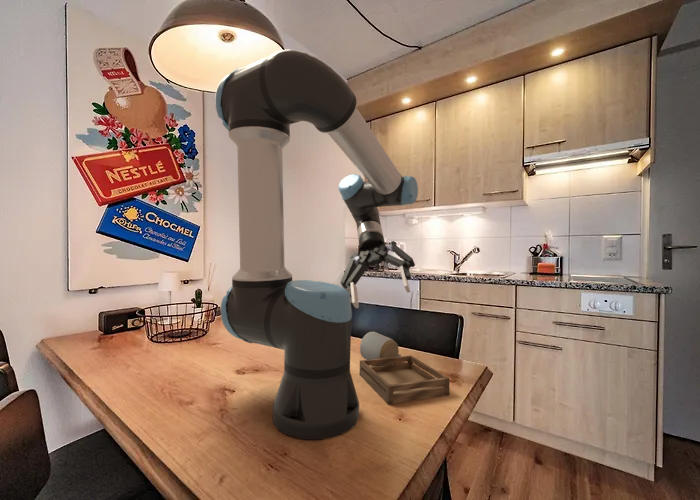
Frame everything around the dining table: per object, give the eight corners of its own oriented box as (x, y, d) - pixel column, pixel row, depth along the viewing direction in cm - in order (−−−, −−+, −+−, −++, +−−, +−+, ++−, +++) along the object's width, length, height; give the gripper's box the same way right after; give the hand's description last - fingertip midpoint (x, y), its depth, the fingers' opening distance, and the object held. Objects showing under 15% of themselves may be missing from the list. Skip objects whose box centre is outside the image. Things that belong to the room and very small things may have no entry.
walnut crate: (388, 404, 60) (388, 386, 60) (359, 374, 74) (359, 360, 74) (449, 395, 64) (449, 378, 64) (410, 368, 79) (411, 355, 79)
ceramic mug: (381, 370, 77) (382, 339, 77) (358, 361, 83) (359, 332, 84) (408, 362, 84) (409, 334, 84) (385, 354, 90) (386, 328, 91)
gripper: (415, 234, 92) (433, 291, 76) (338, 261, 97) (341, 319, 82) (408, 215, 87) (426, 272, 71) (327, 245, 93) (328, 303, 77)
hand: (380, 297), depth 77 cm, fingers open, 13 cm apart
